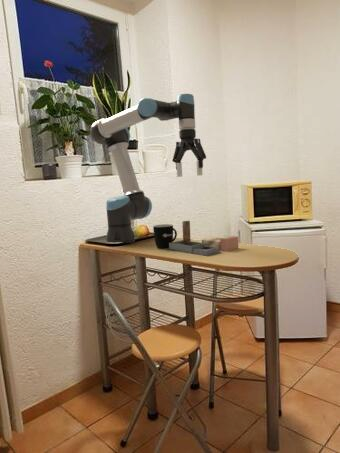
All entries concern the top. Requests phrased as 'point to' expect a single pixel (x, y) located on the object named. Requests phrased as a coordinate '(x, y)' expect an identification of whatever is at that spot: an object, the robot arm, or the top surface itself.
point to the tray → (184, 246)
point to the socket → (206, 250)
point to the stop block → (229, 243)
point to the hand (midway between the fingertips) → (189, 176)
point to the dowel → (186, 233)
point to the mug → (164, 235)
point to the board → (212, 242)
